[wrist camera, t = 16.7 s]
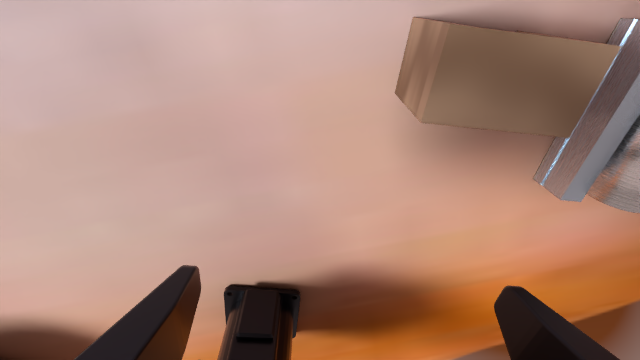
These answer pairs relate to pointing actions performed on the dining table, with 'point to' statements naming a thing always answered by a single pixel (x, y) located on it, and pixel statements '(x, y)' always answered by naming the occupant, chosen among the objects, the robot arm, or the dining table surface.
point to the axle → (621, 174)
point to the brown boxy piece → (499, 78)
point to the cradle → (597, 122)
